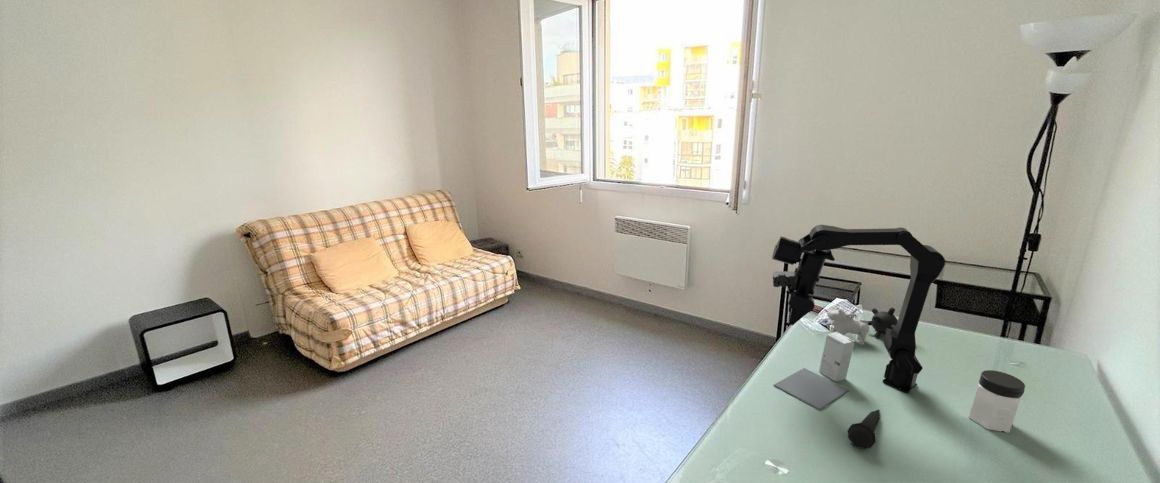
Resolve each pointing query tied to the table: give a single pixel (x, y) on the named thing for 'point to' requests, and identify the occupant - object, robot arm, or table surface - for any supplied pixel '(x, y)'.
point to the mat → (811, 388)
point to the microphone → (864, 431)
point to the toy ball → (883, 321)
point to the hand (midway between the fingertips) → (790, 318)
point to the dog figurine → (848, 324)
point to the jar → (996, 400)
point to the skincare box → (836, 356)
